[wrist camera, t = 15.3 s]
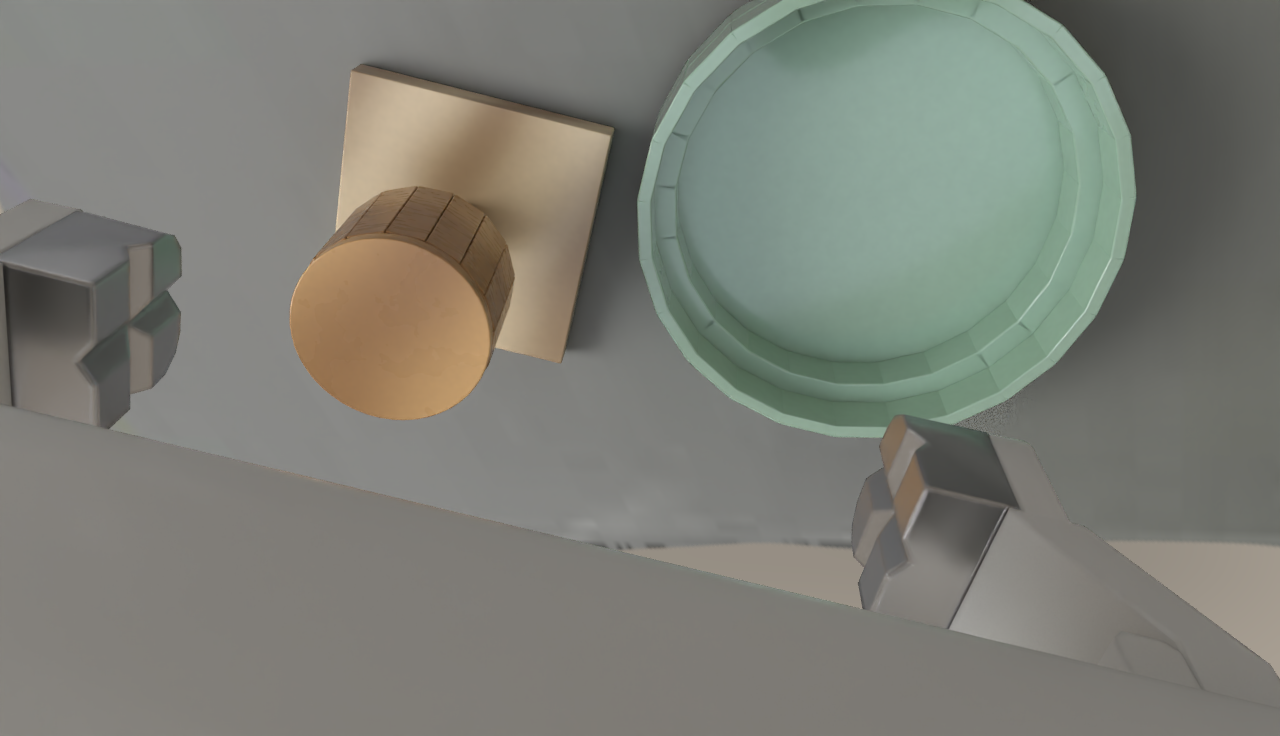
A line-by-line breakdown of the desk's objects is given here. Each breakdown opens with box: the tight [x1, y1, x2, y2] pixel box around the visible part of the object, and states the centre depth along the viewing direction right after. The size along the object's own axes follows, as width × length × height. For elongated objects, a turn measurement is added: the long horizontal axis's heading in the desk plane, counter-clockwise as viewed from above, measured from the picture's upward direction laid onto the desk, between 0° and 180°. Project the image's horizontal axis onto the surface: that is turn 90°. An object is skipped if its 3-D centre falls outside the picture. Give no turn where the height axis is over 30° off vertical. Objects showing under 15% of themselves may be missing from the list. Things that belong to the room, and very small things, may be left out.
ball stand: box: [336, 64, 615, 363], centre depth 37 cm, size 10×10×10 cm
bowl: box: [637, 0, 1137, 438], centre depth 38 cm, size 17×17×4 cm
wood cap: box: [290, 186, 515, 420], centre depth 34 cm, size 6×6×5 cm
